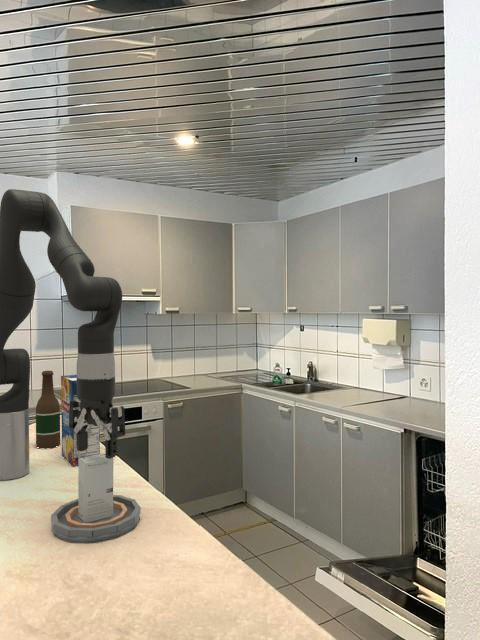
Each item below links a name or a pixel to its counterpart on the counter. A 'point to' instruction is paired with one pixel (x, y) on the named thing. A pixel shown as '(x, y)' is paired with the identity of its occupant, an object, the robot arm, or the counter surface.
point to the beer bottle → (47, 415)
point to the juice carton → (69, 434)
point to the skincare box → (95, 488)
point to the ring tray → (95, 522)
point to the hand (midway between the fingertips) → (96, 453)
